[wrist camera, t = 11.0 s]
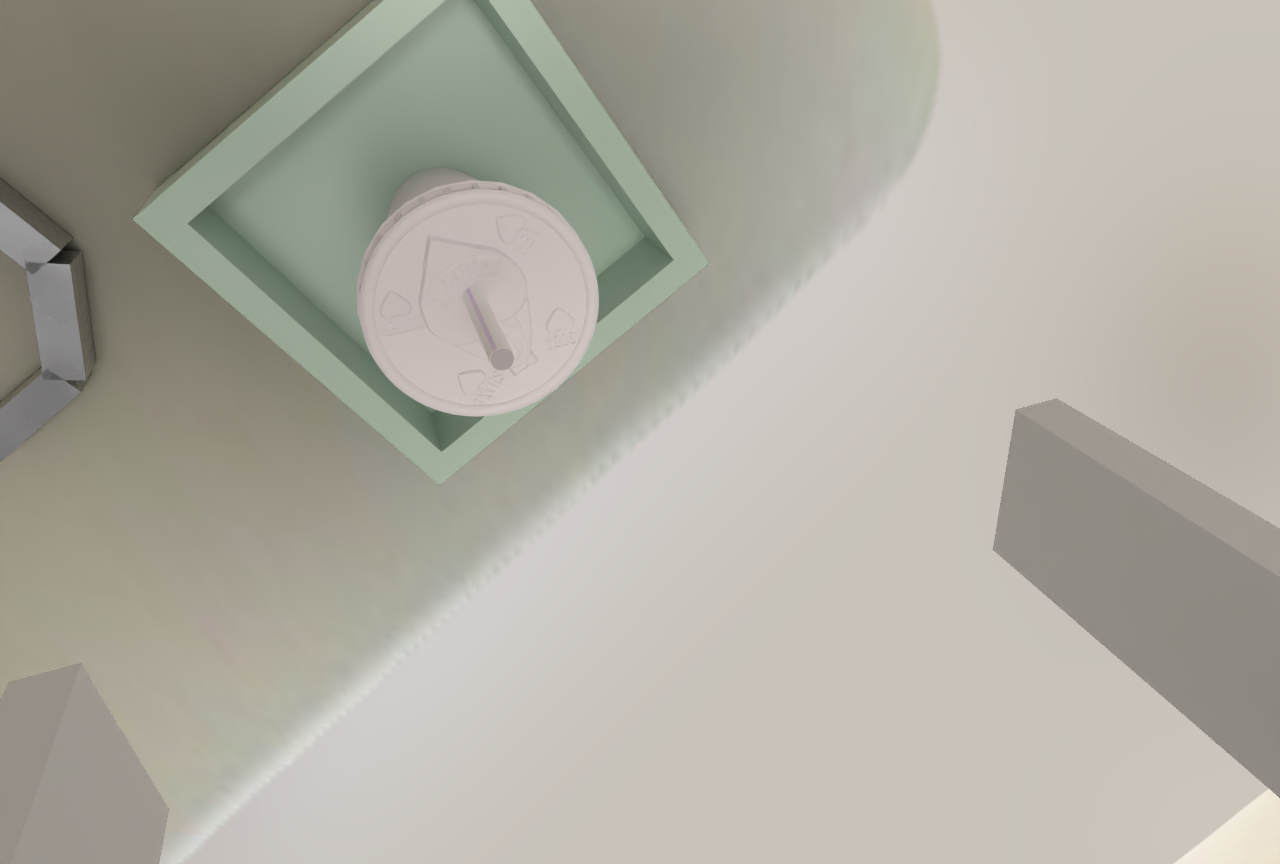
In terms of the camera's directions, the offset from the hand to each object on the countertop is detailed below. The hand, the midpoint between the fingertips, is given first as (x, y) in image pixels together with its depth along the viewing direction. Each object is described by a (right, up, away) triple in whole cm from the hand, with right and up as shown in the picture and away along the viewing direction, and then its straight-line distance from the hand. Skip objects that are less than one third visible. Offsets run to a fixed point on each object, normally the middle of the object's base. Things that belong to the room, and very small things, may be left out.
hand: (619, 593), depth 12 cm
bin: (-7, +10, +19) cm, 23 cm away
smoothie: (-7, +10, +18) cm, 22 cm away
